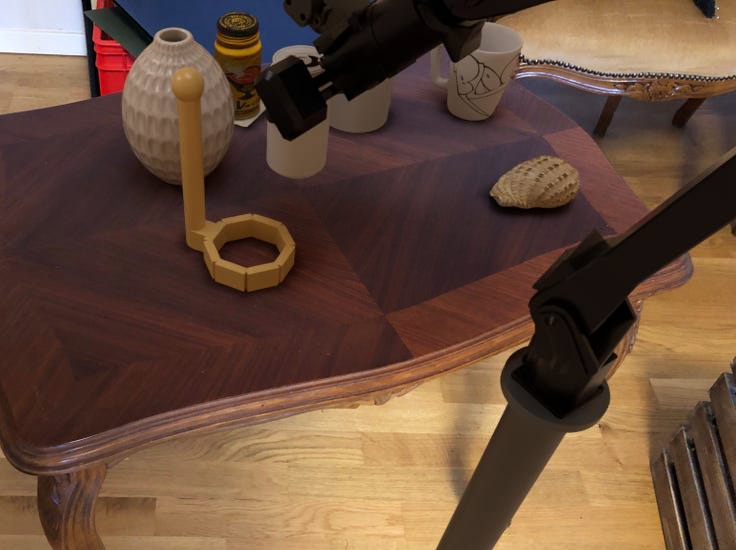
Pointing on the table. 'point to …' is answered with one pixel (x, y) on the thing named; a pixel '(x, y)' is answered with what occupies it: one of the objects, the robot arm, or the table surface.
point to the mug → (479, 73)
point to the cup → (362, 109)
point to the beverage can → (311, 146)
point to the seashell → (537, 184)
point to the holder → (214, 235)
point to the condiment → (240, 62)
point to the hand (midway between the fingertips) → (289, 104)
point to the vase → (174, 105)
